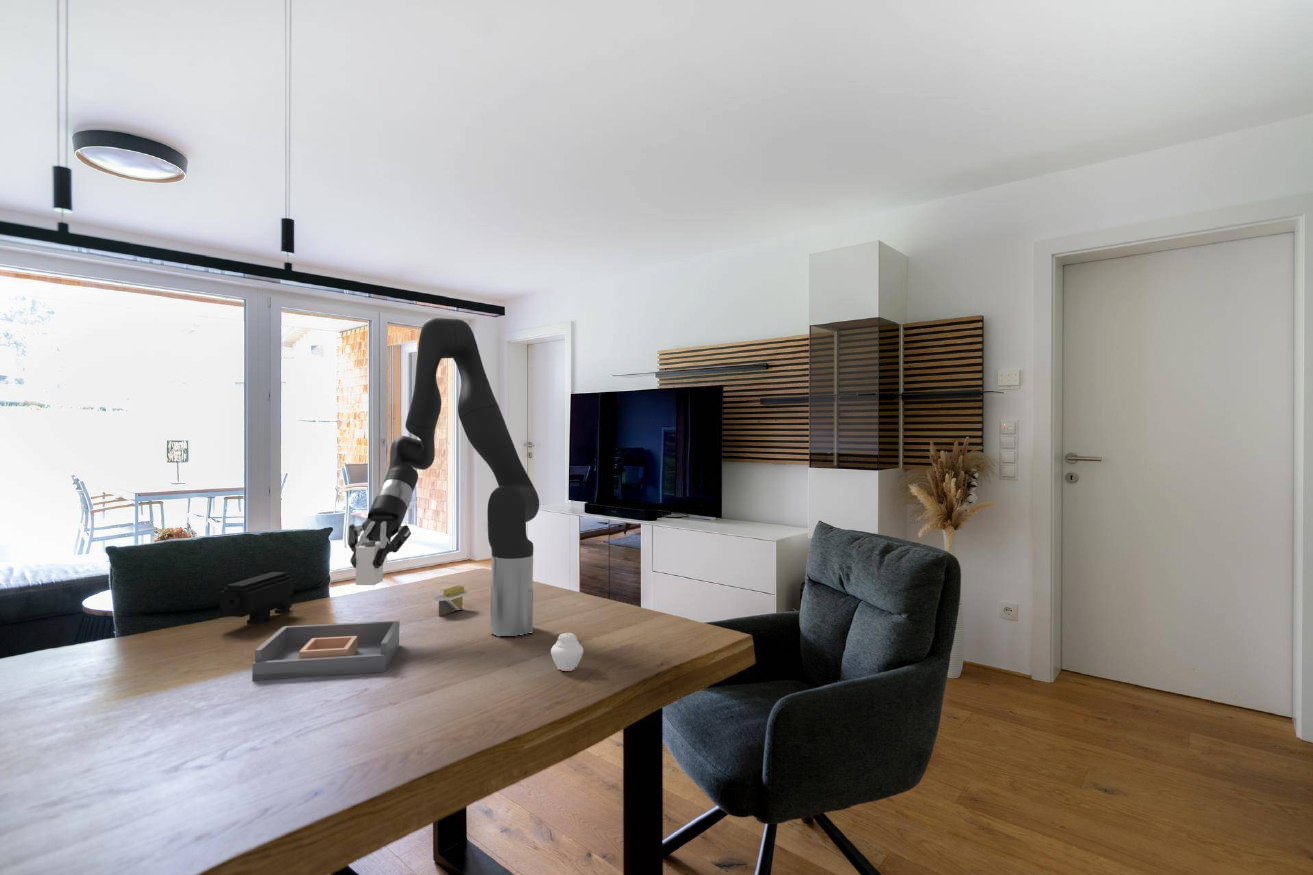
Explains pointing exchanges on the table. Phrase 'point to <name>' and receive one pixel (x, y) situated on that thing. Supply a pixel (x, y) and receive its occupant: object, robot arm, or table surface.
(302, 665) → the walled box
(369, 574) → the plug
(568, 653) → the white lidded jar
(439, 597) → the platform
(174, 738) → the table surface
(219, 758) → the table surface
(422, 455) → the robot arm
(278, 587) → the security camera
